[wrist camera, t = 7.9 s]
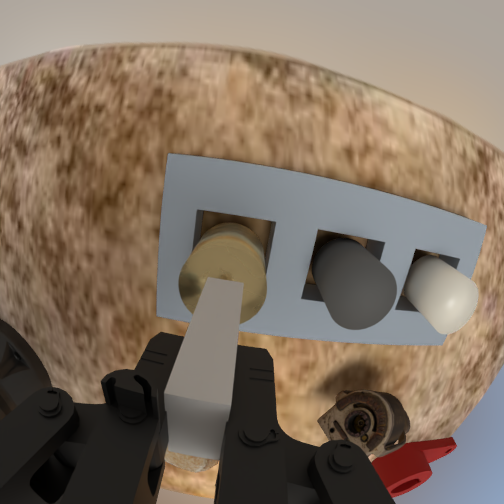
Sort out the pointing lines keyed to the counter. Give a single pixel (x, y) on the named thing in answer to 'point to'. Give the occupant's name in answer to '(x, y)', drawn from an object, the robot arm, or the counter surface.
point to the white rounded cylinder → (441, 293)
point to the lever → (410, 464)
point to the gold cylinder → (226, 266)
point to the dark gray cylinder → (353, 284)
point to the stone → (189, 461)
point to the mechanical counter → (367, 421)
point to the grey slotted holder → (307, 243)
